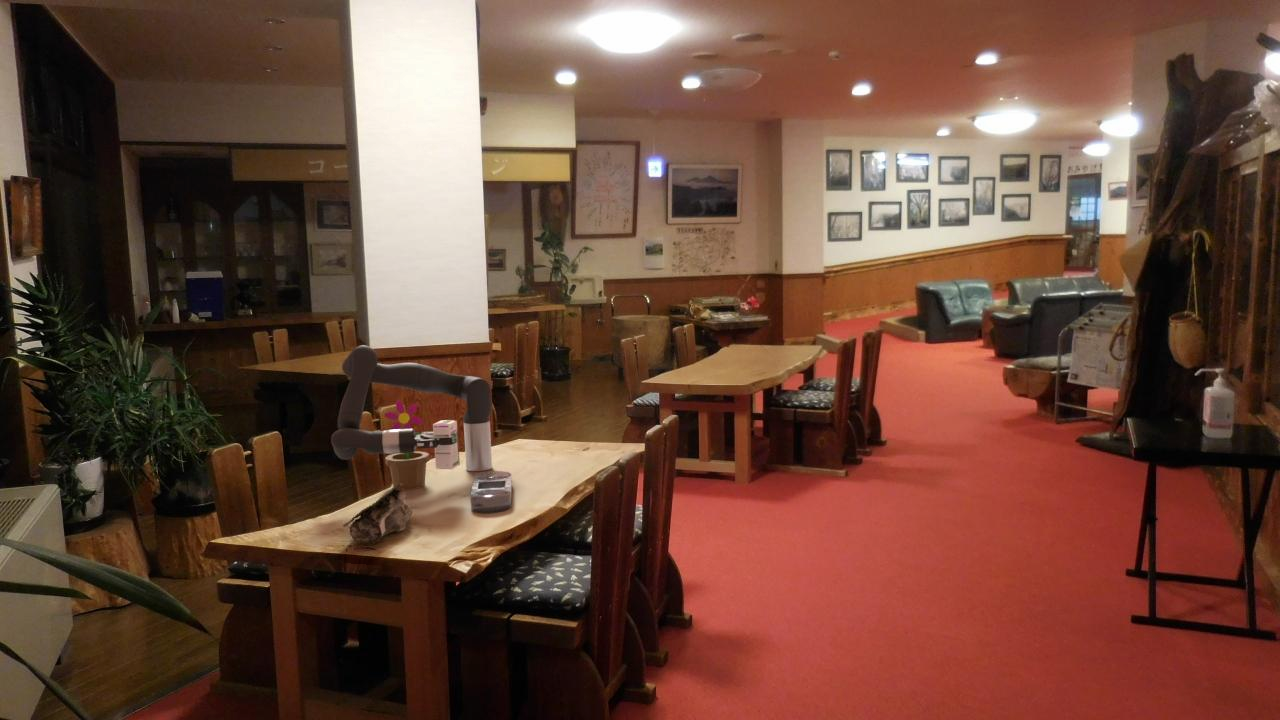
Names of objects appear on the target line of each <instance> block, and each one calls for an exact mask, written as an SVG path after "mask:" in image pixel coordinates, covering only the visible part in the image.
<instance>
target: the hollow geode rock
mask: <svg viewBox="0 0 1280 720" xmlns="http://www.w3.org/2000/svg"><path fill="white" fill-rule="evenodd" d="M401 485H403V483H401V484H400V485H398V486H397V487H395V488H394V487H393V488H392V489H390V490H389V491H388V492H387V493H385V494H384V495H382V496H381V497H380V498H379V499H377V500H376V501H375V502H374V503H371V504H370V505H369V506H367V507H365V508H363V509H362V510H361V511H359V512H358V513H357V514H355V515H354V516H353V517H352V518H351V519H350V520H349V521H347V522H345V523H344V524H342V526H343V527H345V528H346V527H348V526H349V524H350V523H351V525H350V526H349V527H348V529H349V533H350V534H349V535H350V537H351V538H352V539H353V540H354V541H356V542H358V543H361V544H364V545H366V546H373V545H374V544H375V543H377V542H378V541H380V539H382V538H383V537H384V536H386V535H389V534H390V533H394V532H401V531H403V530H404V529H406V528H407V526H406V524H407V523H408V521H409V520H410V519H411V517H412V514H413V511H412V510H411V509H412V508H411V507H410V506H409V505H408V504H407V503H406V501H404V499H405V497H406V492H405V490H399V489H397V488H398V487H399V486H401Z"/></svg>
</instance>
